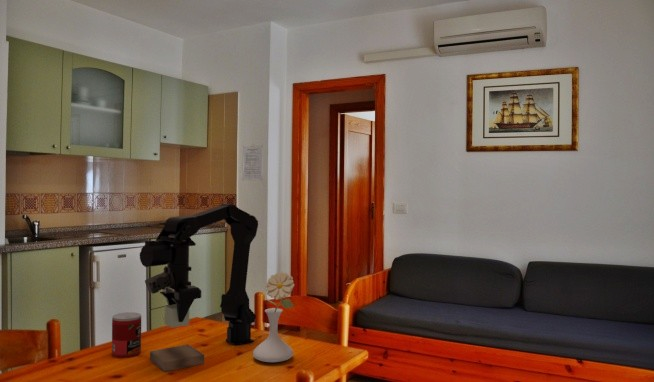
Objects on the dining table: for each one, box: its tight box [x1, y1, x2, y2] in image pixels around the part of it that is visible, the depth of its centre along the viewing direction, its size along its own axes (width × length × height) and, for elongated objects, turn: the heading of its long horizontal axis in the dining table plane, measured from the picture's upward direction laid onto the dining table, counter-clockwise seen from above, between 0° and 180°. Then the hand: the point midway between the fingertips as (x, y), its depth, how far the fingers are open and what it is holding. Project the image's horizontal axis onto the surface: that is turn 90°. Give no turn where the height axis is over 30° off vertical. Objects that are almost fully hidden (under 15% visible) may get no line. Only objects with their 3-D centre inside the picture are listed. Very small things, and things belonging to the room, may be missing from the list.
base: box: [149, 344, 205, 373], centre depth 141 cm, size 11×11×2 cm
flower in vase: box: [252, 271, 295, 363], centre depth 144 cm, size 13×11×25 cm
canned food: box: [111, 311, 142, 359], centre depth 147 cm, size 8×8×11 cm
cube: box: [164, 304, 190, 328], centre depth 141 cm, size 5×5×5 cm
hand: (177, 319), depth 141 cm, fingers closed on cube, 5 cm apart
